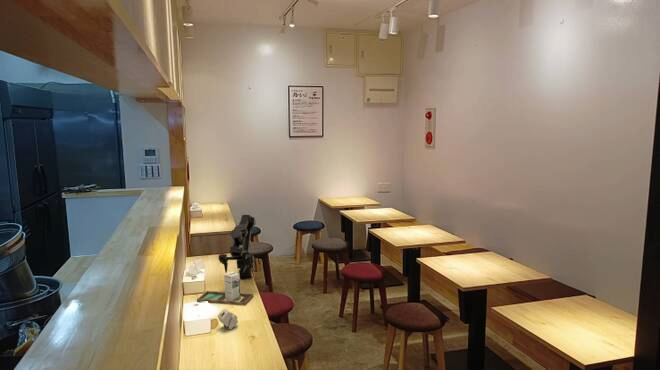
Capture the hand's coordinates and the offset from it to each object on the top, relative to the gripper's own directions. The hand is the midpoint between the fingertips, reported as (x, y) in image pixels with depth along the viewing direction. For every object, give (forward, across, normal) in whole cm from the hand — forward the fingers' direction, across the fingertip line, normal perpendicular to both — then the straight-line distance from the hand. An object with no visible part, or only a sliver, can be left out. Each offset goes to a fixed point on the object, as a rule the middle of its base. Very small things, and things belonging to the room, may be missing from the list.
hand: (234, 272), depth 236 cm
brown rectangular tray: (+13, -4, +5) cm, 14 cm away
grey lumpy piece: (+36, +5, -17) cm, 40 cm away
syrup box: (+14, 0, +5) cm, 14 cm away
